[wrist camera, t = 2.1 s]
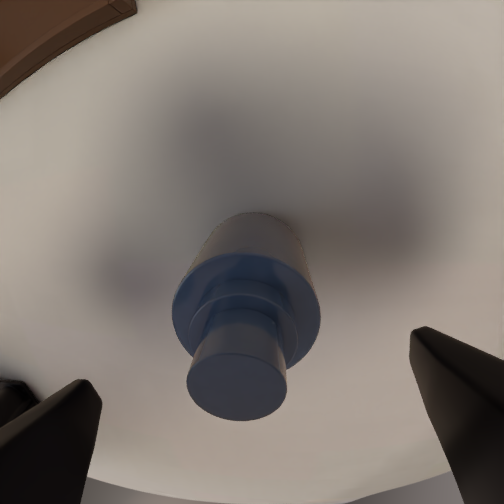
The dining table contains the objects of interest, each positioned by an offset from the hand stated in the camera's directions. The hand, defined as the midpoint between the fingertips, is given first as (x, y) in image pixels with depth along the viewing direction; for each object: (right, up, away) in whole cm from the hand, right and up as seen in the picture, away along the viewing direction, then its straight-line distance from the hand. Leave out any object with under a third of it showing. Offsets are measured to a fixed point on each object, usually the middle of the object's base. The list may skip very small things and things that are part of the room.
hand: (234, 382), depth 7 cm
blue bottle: (+1, +3, +8) cm, 8 cm away
